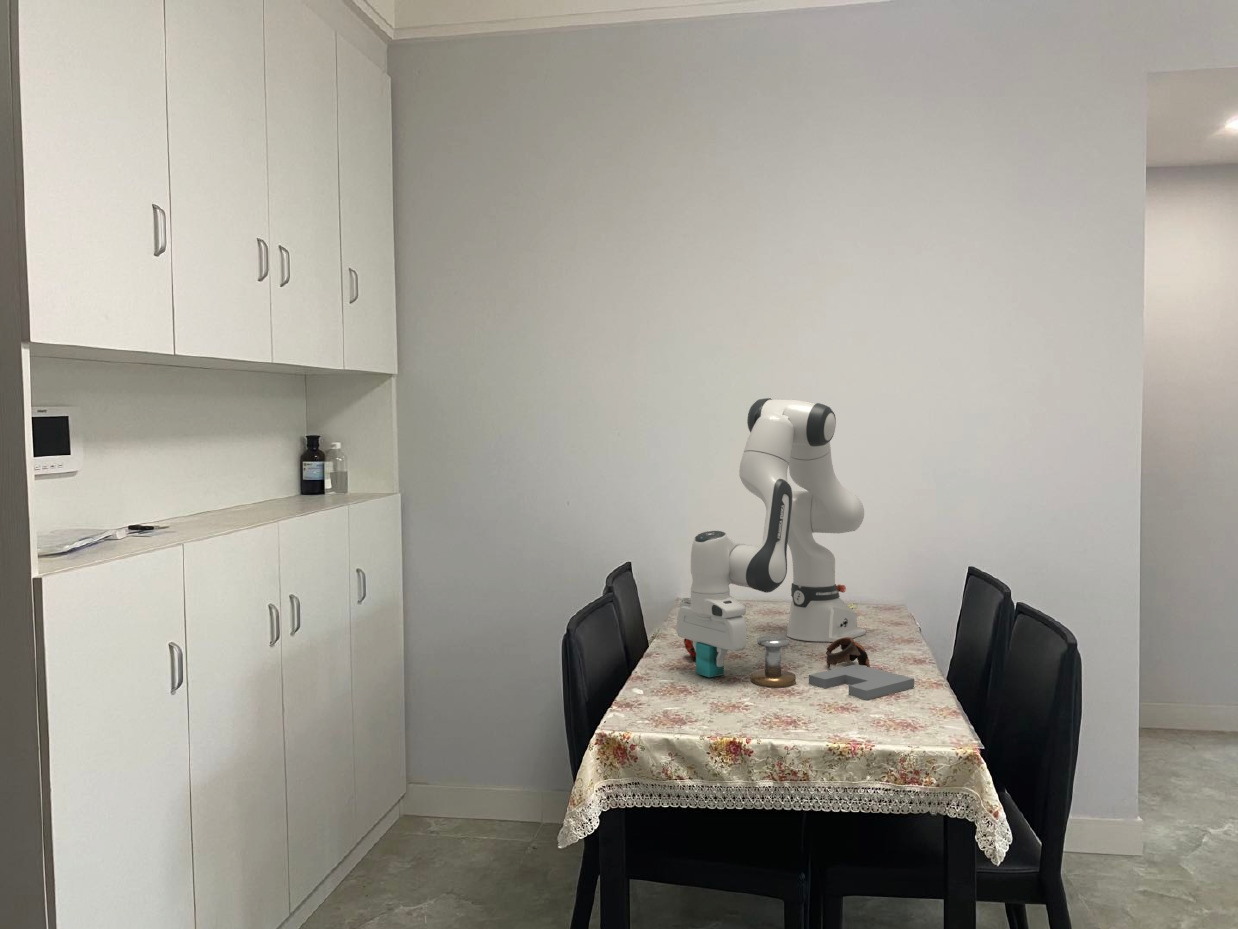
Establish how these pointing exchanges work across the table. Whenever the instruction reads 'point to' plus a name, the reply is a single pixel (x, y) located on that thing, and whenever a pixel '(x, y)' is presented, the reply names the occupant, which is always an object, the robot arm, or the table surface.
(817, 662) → the table surface
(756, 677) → the bobbin post
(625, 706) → the table surface
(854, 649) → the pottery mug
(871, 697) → the notched board
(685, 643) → the dragon fruit
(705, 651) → the block
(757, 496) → the robot arm
